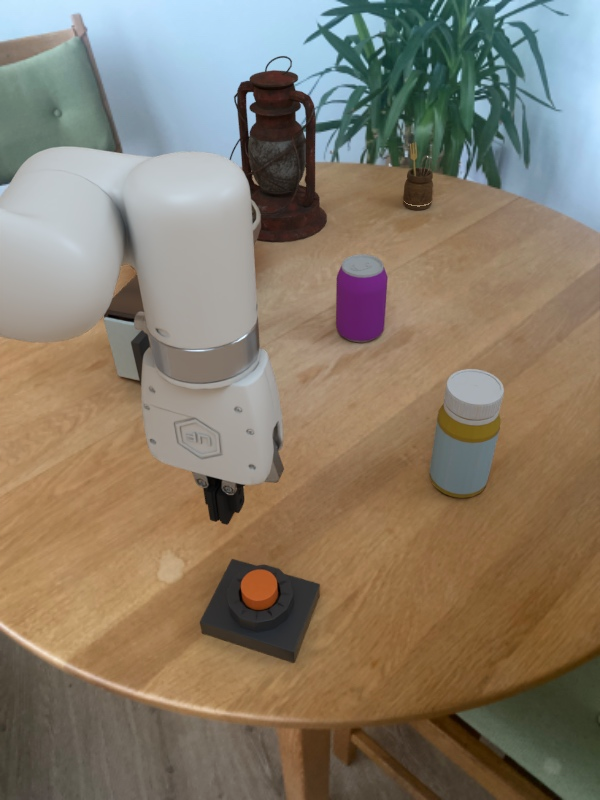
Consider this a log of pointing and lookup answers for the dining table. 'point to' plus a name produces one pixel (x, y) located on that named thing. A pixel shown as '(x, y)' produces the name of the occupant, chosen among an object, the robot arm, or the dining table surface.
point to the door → (127, 347)
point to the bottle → (466, 433)
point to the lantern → (280, 156)
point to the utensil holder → (418, 184)
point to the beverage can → (361, 298)
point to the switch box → (261, 613)
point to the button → (259, 589)
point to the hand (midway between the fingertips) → (226, 510)
